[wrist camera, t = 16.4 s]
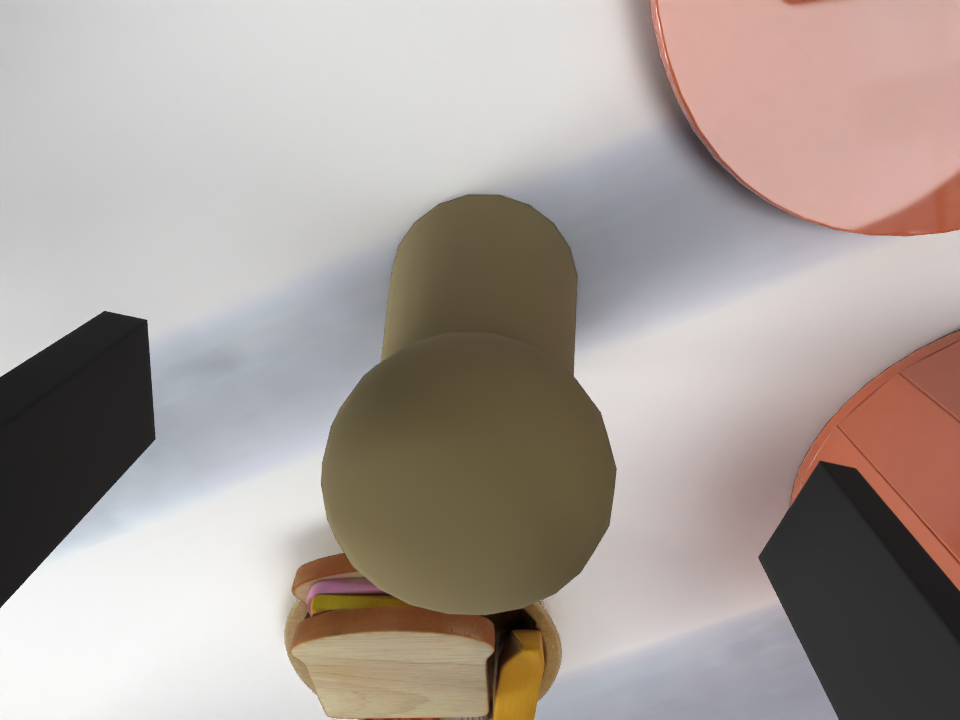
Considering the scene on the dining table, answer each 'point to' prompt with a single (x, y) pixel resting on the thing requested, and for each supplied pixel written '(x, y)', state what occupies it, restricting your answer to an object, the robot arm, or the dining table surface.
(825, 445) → the pot
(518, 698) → the toy sandwich meal
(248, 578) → the dining table surface
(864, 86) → the lid
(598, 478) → the olive pawn figure
